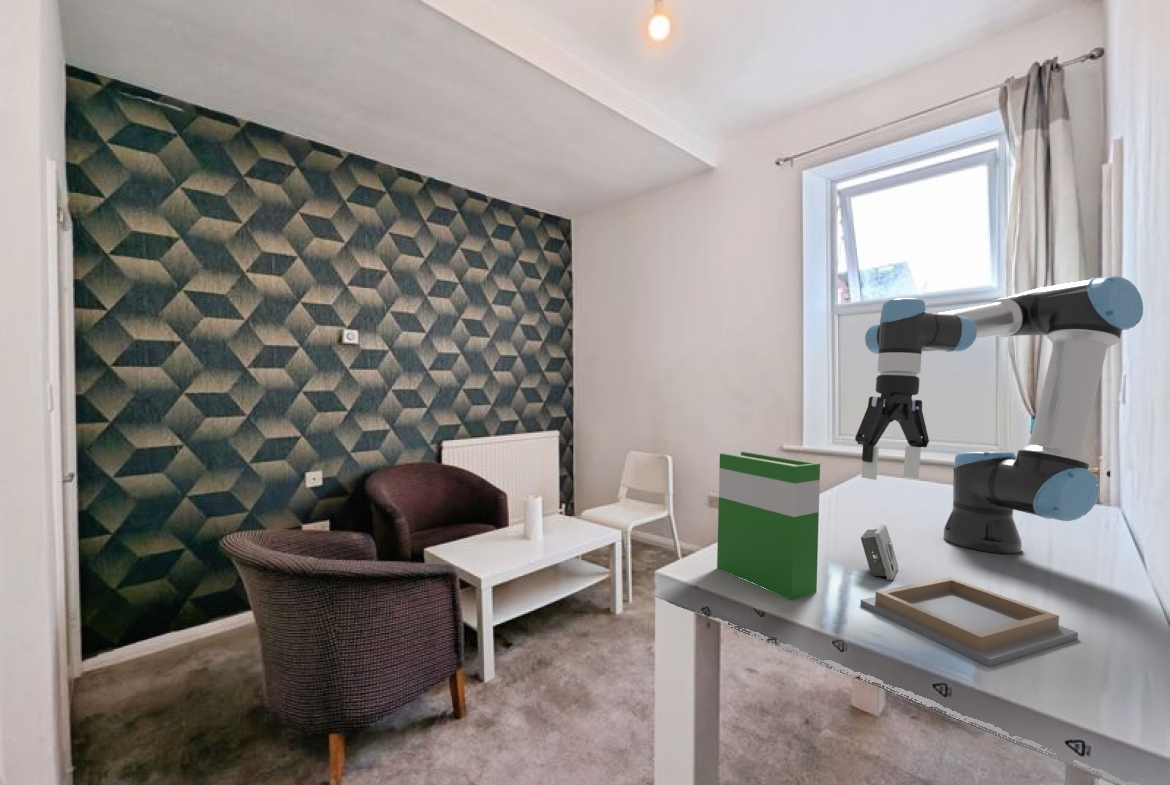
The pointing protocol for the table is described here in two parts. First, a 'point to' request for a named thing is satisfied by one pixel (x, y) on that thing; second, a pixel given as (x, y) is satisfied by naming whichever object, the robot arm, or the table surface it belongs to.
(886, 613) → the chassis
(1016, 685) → the table surface
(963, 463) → the robot arm
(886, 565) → the electrical switch
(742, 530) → the green open box
